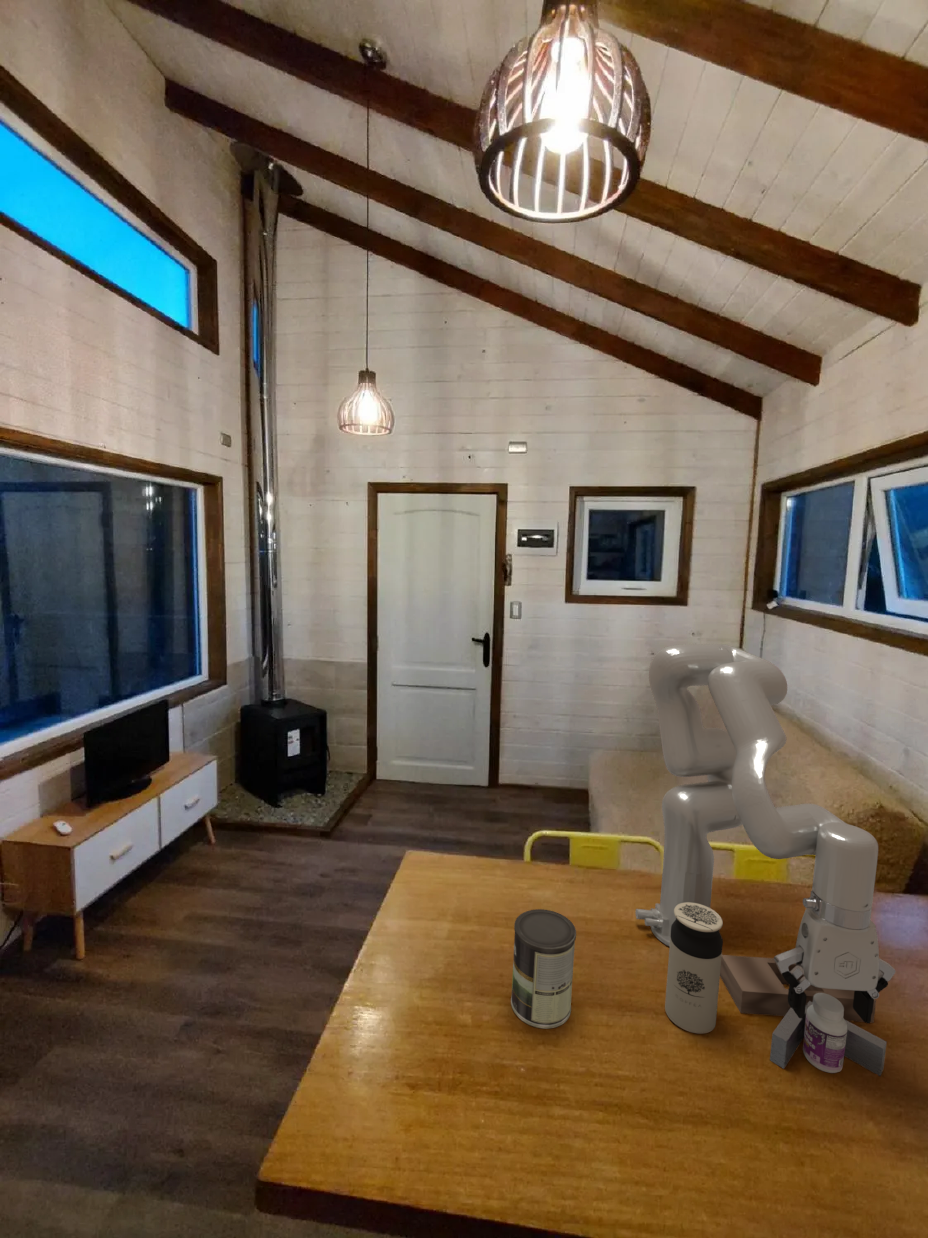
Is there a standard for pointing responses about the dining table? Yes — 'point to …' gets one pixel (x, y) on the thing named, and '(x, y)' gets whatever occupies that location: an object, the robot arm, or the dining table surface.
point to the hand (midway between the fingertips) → (828, 1013)
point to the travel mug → (694, 967)
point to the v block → (857, 1047)
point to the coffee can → (543, 968)
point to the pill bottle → (825, 1033)
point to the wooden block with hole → (772, 988)
